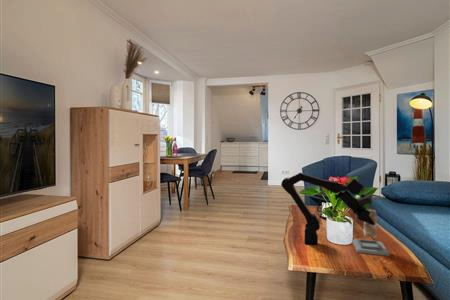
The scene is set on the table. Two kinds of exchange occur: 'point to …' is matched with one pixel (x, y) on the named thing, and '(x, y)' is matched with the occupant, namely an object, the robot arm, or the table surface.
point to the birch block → (371, 229)
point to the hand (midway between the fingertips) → (372, 223)
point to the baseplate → (370, 247)
